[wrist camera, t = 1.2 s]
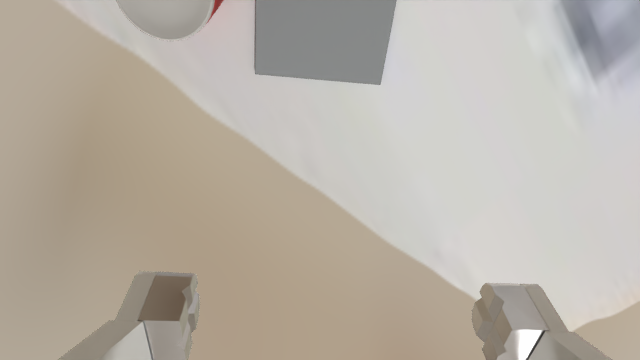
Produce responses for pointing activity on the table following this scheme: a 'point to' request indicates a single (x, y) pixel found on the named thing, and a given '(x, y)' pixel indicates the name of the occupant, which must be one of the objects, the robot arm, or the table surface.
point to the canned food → (169, 16)
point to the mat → (323, 39)
